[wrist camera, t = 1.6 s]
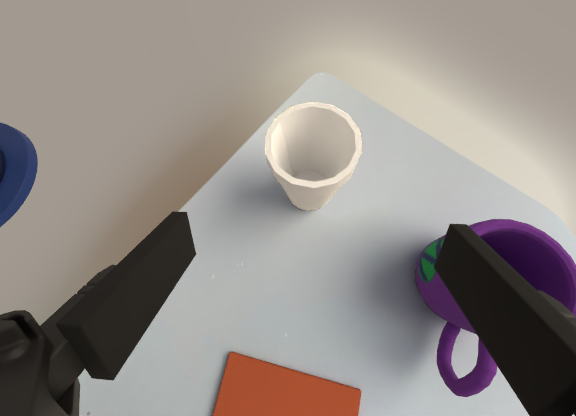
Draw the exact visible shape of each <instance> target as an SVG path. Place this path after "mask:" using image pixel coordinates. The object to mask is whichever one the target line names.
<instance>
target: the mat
mask: <svg viewBox="0 0 576 416" xmlns="http://www.w3.org/2000/svg"><path fill="white" fill-rule="evenodd" d="M360 397H361V390H360V389H357V388H353V387H350V386H347V385H343V384H340V383H336V382H333V381H330V380H326V379H323V378H319V377H316V376H313V375H309V374H306V373H302V372H299V371H296V370H292V369H289V368H285V367H282V366H279V365H275V364H272V363H268V362H265V361H262V360H258V359H255V358H251V357H248V356H244V355H241V354H238V353H234V352H230V354H229V357H228V361H227V365H226V368H225V372H224V376H223V379H222V383H221V387H220V390H219V394H218V398H217V402H216V405H215V409H214V413H213V416H358V412H359V404H360Z"/></svg>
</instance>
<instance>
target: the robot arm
mask: <svg viewBox="0 0 576 416" xmlns="http://www.w3.org/2000/svg"><path fill="white" fill-rule="evenodd" d="M5 167H6V161H5V156H4V153H3V151H2V150H1V148H0V184H1V182H2V179H3V176H4V173H5ZM195 255H196V252H195V247H194V243H193V238H192V234H191V229H190V225H189V220H188V216H187V212H172V213H171V214H170V215H169V216H168V217H166V218H165V219H164V220H163V221H162V222H161V223H160V224H159V225H158V226H157V227H156V228H155V229H154V230H153V231H152V232H151V233H150V234H149V235H148V236H147V237H146V238H145V239H144V240H142V241H141V242H140V243H139V244H138V245H137V246H136V247H135V248H134V249H133V250H132V251H131V252H130V253H129V254H128V255H127V256H126V257H125V258H124V259H123V260H122V261H121V262H120V263H118V264H117V265H111V266H109V267H108V268H106V269H104V270H103V271H101V272H99V273H98V274H97V275H95V276H94V277H93V278H92V279H91V280H90V281H89V282H88V283H87V285H86V286H83V287H82V288H81V289H80V290H79V291H78V293H77V294H75V295H74V296H72V297H71V298H70V299H69V300H68V301H67V302H66V303H65V304H64V305H63V306H62V307H60V308H59V309H58V310H57V311H56V312H55V313H54V314H53V315H52V316H51V317H49V318H48V319H47V320H46V321H45V322H44V323H43V324H42V325H41V326H39V325H38V323H37V322H36V321H35V319H34V318H33V316H32V315H31V314H30V313H29V312H27V311H25V310H24V311H23V310H22V311H12V312H9V313H5V314H2V315H0V416H79V399H80V383H79V380H78V376H79V375H80V374H81V373H82V371H83V370H84V369H86V370H87V372H88V373H89V375H90V376H91V378H95V379H105V380H114V379H115V377H116V375H117V374H118V372H119V371H120V369H121V368H122V366H123V365H124V363H125V362H126V360H127V359H128V357H129V356H130V354H131V353H132V351H133V350H134V348H135V346H136V345H137V343H138V342H139V340H140V339H141V337H142V336H143V334H144V333H145V331H146V330H147V328H148V327H149V325H150V324H151V322H152V321H153V319H154V318H155V316H156V314H157V313H158V311H159V310H160V308H161V307H162V305H163V304H164V302H165V301H166V299H167V298H168V296H169V295H170V293H171V292H172V290H173V289H174V287H175V285H176V284H177V282H178V281H179V279H180V278H181V276H182V275H183V273H184V272H185V270H186V269H187V267H188V266H189V264H190V263H191V261H192V260H193V258H194V257H195ZM434 269H435V270H436V272H437V274H438V275H439V277H440V278H441V280H442V281H443V283H444V284H445V286H446V287H447V289H448V290H449V292H450V294H451V295H452V297H453V298H454V300H455V301H456V303H457V304H458V306H459V307H460V309H461V311H462V312H463V314H464V315H465V317H466V318H467V320H468V321H469V323H470V324H471V326H472V327H473V329H474V331H475V332H476V334H477V335H478V337H479V338H480V340H481V341H482V343H483V344H484V346H485V348H486V349H487V351H488V352H489V354H490V355H491V357H492V358H493V360H494V361H495V363H496V364H497V366H498V368H499V369H500V371H501V372H502V374H503V375H504V377H505V378H506V380H507V381H508V383H509V385H510V386H511V388H512V389H513V391H514V392H515V394H516V395H517V397H518V398H519V400H520V401H521V403H522V405H523V406H524V408H525V409H526V411H527V412H528V414H529V415H530V416H572V415H573V414H574V415H575V416H576V317H575V315H574V314H573V313H572V312H571V311H570V310H568V309H567V308H566V307H565V306H564V305H563V304H562V303H561V302H559V301H557V300H556V299H554V298H553V297H551V296H549V295H548V294H546V293H545V292H543V291H538V290H536V289H535V288H534V287H533V286H532V285H531V284H530V283H528V282H527V281H526V280H525V279H524V278H523V277H522V276H521V275H520V274H519V273H518V272H517V271H516V270H515V269H514V268H512V267H511V266H510V265H509V264H508V263H507V262H506V261H505V260H504V259H503V258H502V257H501V256H500V255H499V254H498V253H496V252H495V251H494V250H493V249H492V248H491V247H490V246H489V245H488V244H487V243H486V242H485V241H484V240H483V239H482V238H480V237H479V236H478V235H477V234H476V233H475V232H474V231H473V230H472V229H471V228H470V227H469V226H468V225H464V224H450V225H449V228H448V231H447V233H446V236H445V239H444V242H443V244H442V247H441V250H440V252H439V255H438V258H437V260H436V263H435V266H434Z"/></svg>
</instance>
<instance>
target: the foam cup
mask: <svg viewBox="0 0 576 416" xmlns="http://www.w3.org/2000/svg"><path fill="white" fill-rule="evenodd" d="M361 153H362V141H361V131H360V130H359V128H358V127H357V125H356V124H355V122H354V121H353V119H352V118H351V116H350V115H349V114H347V113H345V112H344V111H342V110H340V109H339V108H337V107H335V106H334V105H331V104H325V103H318V102H307V103H303V104H298V105H294V106H291V107H289V108H288V109H287V110H285V111H284V112H282V113H281V114H280V115H278V116H277V117H275V119H274V121H273V122H272V124H271V126H270V128H269V129H268V131H267V133H266V139H265V155H266V158H267V162H268V165H269V167H270V169H271V171H272V173H273V175H274V177H275V179H276V181H277V182H279V183H280V184H281V186H282V187H283V189H284V191H285V192H286V194H287V196H288V197H289V199H290V201H291V202H292V204H294V205H295V206H296V207H298V208H299V209H302V210H307V211H312V210H316V209H320V208H321V207H322V206H323V205H325V204H326V203H327V202H328V201H329V200H330V199H331V197H332V196H333V195H334V194H335V193H336V192H337V190H338V189H339V188H340V187H341V186H342V185H343V184H344V183H346V182H347V181H348V180H349V179H350V177H351V175H352V173H353V171H354V169H355V166H356V164H357V162H358V160H359V157H360V155H361Z"/></svg>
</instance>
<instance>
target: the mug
mask: <svg viewBox="0 0 576 416" xmlns="http://www.w3.org/2000/svg"><path fill="white" fill-rule="evenodd" d="M469 227H470V228H471V229H472V230H473V231H474V232H475V233H476V234H477V235H478V236H479V237H480V238H482V239H483V240H484V241H485V242H486V243H487V244H488V245H489V246H490V247H491V248H492V249H493V250H494V251H495V252H496V253H498V254H499V255H500V256H501V257H502V258H503V259H504V260H505V261H506V262H507V263H508V264H509V265H510V266H511V267H512V268H514V269H515V270H516V271H517V272H518V273H519V274H520V275H521V276H522V277H523V278H524V279H525V280H526V281H527V282H528V283H530V284H531V285H532V286H533V287H534V288H535V289H536V290H538V291H543V292H545V293H546V294H548V295H549V296H551V297H553V298H554V299H556V300H557V301H559V302H561V303H562V304H563V305H564V306H565V307H566V308H567V309H568V310H570V311H571V312H572V313H573V314H574V315H575V317H576V265H575V263H574V261H573V259H572V258H571V256H570V255H569V254H568V253H567V252H566V251H565V250H564V249H563V247H562V246H561V245H560V244H559V243H558V242H556V241H555V240H554V239H553V238H551V237H550V236H549V235H547V234H546V233H545V232H543V231H541V230H539V229H537V228H535V227H533V226H531V225H529V224H526V223H522V222H518V221H514V220H510V219H492V220H487V221H483V222H479V223H475V224H472V225H469ZM445 236H446V235H444V236H443V237H441V238H439V239H437V240H435V241H434V242H432V243H431V244H429V245H428V246H427V247H426V248H425V249H424V250H423V251H422V253H421V254H420V257H419V259H418V261H417V264H416V270H415V276H416V284H417V287H418V290H419V292H420V295H421V296H422V298H423V299H424V301H425V302H426V304H427V305H428V306H429V307H430V308H431V309H432V310H433V311H434V312H435V313H436V314H437V315H439V316H440V317H442V318H443V319H445V320H447V321H448V322H447V323H446V325H445V327H444V329H443V331H442V334H441V337H440V340H439V344H438V349H437V365H438V369H439V372H440V375H441V377H442V379H443V380H444V382H445V384H446V386H447V387H448V388H449V389H450V390H451V391H452V392H453V393H454V394H455V395H457V396H463V397H469V396H472V395H474V394H477V393H479V392H481V391H482V390H483V389H485V388H486V387H488V386H489V385H490V383H491V381H492V380H493V378H494V376H495V375H496V371H497V364H496V363H495V361H494V360H493V358H492V357H491V355H490V354H489V352H488V351H487V349H486V348H485V346H484V344H483V343H482V341H481V340H480V338H479V344H478V358H477V364H476V366H475V367H474V369H473V370H472V372H470V373H469V374H467V375H466V376H465V377H462V378H460V379H458V377H457V376H456V374H455V373H454V371H453V368H452V365H451V355H452V351H453V346H454V343H455V340H456V337H457V335H458V334H459V332H460V328H462V329H464V330H467V331H470V332H472V333H475V334H476V332H475V331H474V329H473V327H472V326H471V324H470V323H469V321H468V320H467V318H466V317H465V315H464V314H463V312H462V311H461V309H460V307H459V306H458V304H457V303H456V301H455V300H454V298H453V297H452V295H451V294H450V292H449V290H448V289H447V287H446V286H445V284H444V283H443V281H442V280H441V278H440V277H439V275H438V274H437V272H436V270H435V269H434V266H435V263H436V260H437V258H438V255H439V252H440V250H441V247H442V244H443V242H444V239H445Z"/></svg>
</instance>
